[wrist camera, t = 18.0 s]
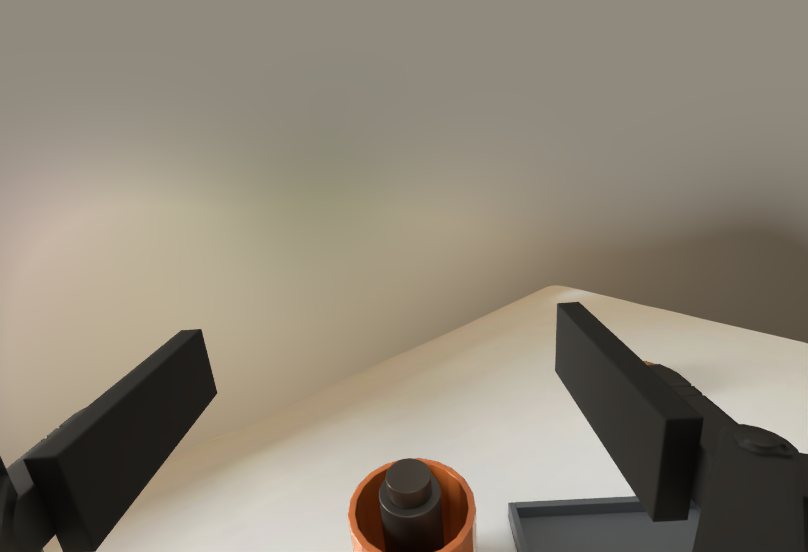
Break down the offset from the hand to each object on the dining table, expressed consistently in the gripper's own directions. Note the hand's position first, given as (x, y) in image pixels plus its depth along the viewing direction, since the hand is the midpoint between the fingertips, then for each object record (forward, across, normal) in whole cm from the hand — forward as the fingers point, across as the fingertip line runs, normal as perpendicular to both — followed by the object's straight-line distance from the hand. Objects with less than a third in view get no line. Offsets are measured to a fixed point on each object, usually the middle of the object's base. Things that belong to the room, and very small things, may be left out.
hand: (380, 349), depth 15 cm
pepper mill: (+10, 0, -26) cm, 28 cm away
